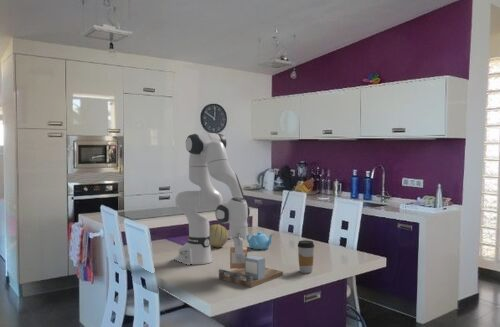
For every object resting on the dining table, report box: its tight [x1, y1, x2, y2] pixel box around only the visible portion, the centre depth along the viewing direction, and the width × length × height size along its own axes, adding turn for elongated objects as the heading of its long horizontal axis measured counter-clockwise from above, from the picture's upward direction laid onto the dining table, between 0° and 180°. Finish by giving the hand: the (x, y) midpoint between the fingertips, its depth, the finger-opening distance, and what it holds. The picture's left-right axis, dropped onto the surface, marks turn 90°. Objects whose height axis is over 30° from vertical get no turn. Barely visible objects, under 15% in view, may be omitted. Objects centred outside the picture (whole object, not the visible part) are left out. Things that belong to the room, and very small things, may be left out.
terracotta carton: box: [229, 246, 248, 270], centre depth 202 cm, size 5×8×9 cm, turn 92°
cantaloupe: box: [209, 222, 229, 248], centre depth 268 cm, size 15×15×15 cm
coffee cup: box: [297, 239, 315, 274], centre depth 212 cm, size 8×8×15 cm
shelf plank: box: [218, 267, 284, 288], centre depth 202 cm, size 20×24×4 cm
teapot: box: [246, 231, 274, 250], centre depth 265 cm, size 15×15×10 cm
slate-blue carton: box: [245, 255, 266, 280], centre depth 195 cm, size 5×8×9 cm, turn 50°
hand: (238, 260), depth 202 cm, fingers closed on terracotta carton, 5 cm apart
